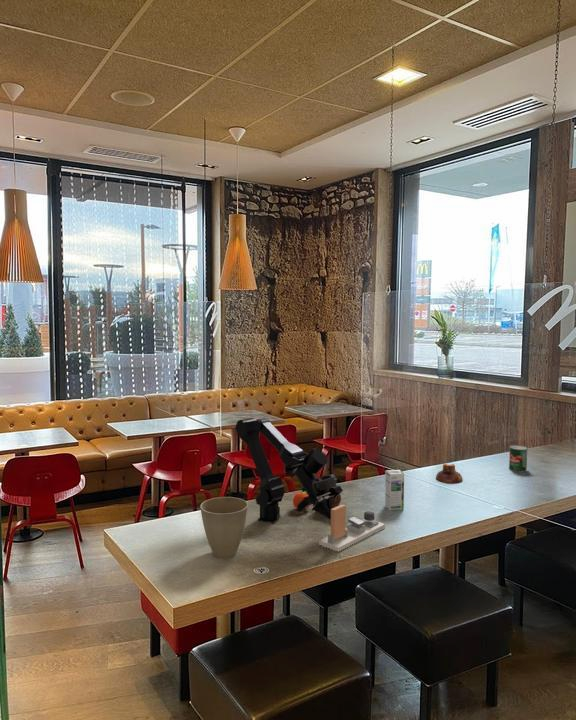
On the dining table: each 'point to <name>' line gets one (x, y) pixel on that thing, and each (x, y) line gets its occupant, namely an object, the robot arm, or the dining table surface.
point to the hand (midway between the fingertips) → (334, 520)
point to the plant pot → (224, 524)
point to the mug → (336, 501)
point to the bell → (449, 474)
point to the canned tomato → (518, 458)
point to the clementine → (299, 498)
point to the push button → (369, 516)
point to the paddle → (338, 521)
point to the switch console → (352, 535)
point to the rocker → (356, 522)
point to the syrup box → (394, 489)
